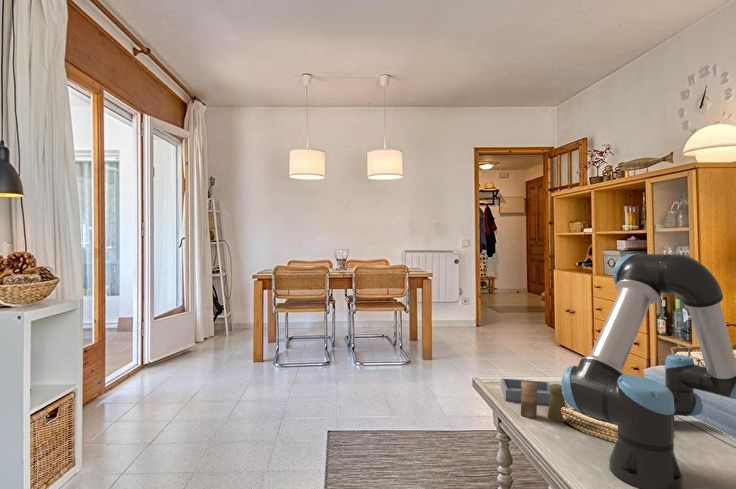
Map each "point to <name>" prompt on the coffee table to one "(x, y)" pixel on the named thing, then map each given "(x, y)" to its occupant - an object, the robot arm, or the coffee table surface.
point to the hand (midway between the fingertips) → (584, 400)
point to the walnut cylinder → (528, 399)
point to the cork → (556, 403)
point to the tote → (513, 390)
